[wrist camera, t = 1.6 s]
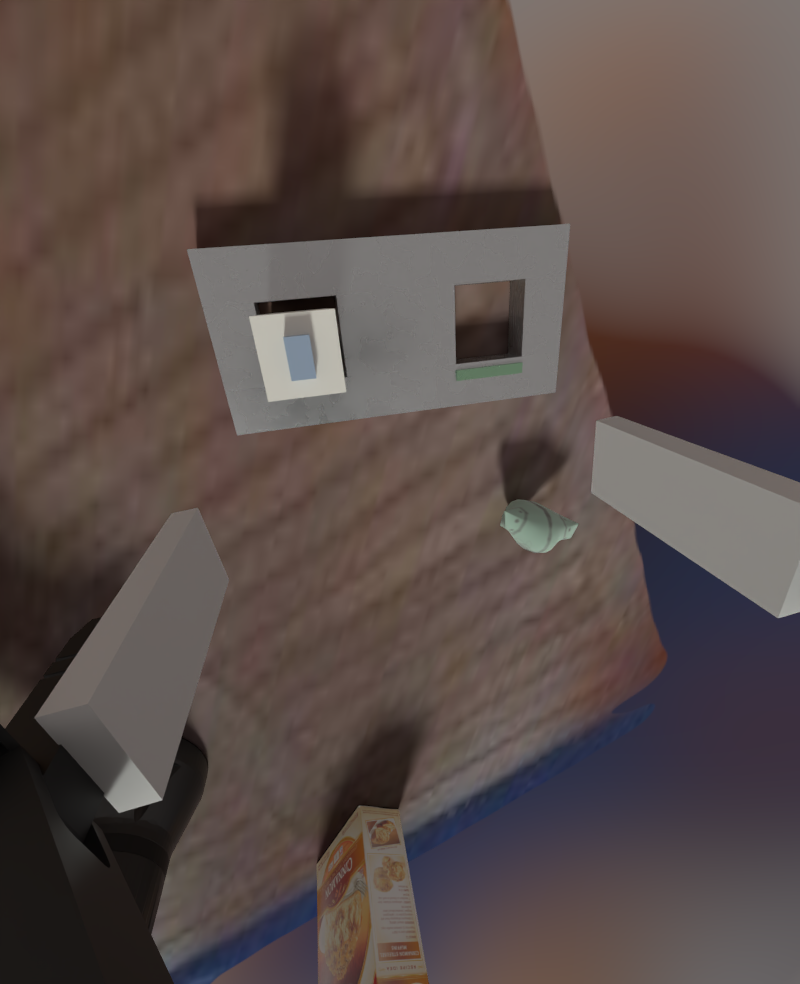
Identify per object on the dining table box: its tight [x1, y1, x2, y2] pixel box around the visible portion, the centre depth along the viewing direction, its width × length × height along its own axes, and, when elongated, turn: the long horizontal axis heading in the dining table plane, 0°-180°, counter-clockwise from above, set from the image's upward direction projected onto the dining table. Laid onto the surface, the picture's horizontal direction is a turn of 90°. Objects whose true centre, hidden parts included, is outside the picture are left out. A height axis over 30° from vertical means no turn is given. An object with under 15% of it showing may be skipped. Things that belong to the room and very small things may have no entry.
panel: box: [187, 224, 570, 435], centre depth 30 cm, size 26×12×3 cm, turn 94°
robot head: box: [500, 499, 578, 553], centre depth 38 cm, size 8×4×7 cm, turn 74°
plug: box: [249, 308, 346, 402], centre depth 25 cm, size 4×4×13 cm
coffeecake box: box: [317, 805, 429, 984], centre depth 51 cm, size 15×7×20 cm, turn 150°
